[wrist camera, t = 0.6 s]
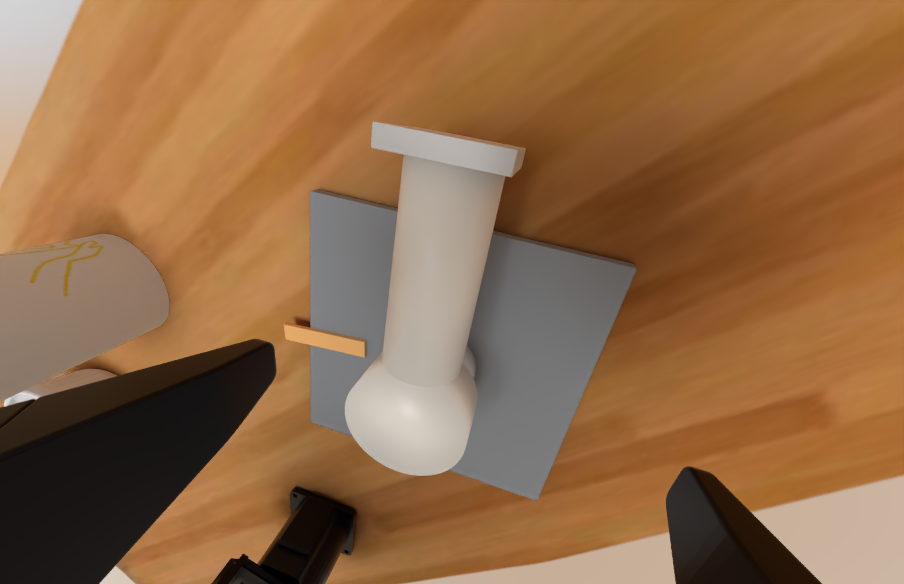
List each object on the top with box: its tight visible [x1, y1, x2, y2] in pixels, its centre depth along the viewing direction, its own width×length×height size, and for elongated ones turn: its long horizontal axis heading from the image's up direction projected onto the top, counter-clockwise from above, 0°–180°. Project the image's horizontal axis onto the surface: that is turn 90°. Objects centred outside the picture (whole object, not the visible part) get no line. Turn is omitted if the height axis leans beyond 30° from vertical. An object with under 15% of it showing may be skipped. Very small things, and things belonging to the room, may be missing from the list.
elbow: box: [345, 122, 526, 476], centre depth 17 cm, size 17×6×5 cm, turn 170°
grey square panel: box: [284, 189, 637, 501], centre depth 21 cm, size 20×20×3 cm
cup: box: [0, 234, 170, 402], centre depth 23 cm, size 8×8×12 cm
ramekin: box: [4, 369, 117, 407], centre depth 33 cm, size 11×11×5 cm
